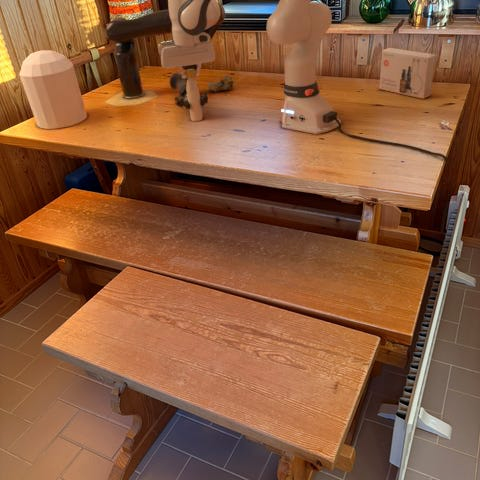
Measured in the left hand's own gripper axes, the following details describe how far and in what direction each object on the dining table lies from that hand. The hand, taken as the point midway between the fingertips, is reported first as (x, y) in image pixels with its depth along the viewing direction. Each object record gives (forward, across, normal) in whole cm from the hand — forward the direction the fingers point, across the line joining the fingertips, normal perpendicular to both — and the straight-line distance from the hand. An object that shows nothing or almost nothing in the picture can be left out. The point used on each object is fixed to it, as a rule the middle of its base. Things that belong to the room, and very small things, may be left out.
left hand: (195, 105), depth 178 cm
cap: (-3, 0, -12) cm, 13 cm away
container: (-30, -53, +6) cm, 61 cm away
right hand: (-3, 0, -10) cm, 10 cm away
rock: (-35, +18, +6) cm, 40 cm away
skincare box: (+10, +84, +6) cm, 85 cm away
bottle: (-3, 0, +6) cm, 7 cm away
